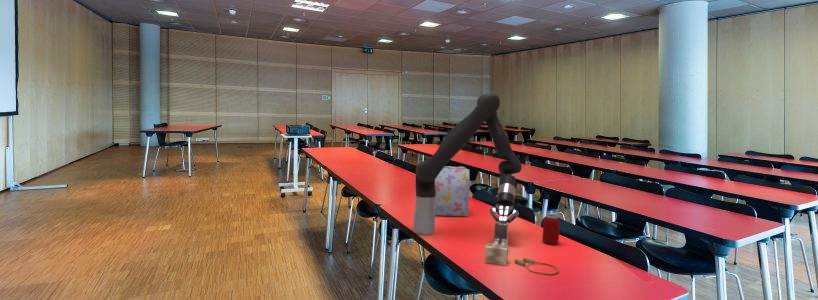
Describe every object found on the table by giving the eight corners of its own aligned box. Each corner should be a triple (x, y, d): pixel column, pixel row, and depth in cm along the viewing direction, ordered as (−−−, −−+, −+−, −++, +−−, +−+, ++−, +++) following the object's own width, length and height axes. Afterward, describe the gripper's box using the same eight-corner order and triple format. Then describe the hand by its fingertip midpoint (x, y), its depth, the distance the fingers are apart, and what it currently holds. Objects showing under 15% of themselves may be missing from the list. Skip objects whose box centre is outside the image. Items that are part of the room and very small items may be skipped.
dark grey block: (489, 259, 165) (490, 233, 164) (494, 245, 182) (495, 221, 181) (502, 261, 164) (504, 234, 163) (506, 247, 181) (508, 223, 180)
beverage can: (559, 242, 192) (560, 215, 191) (557, 246, 186) (559, 219, 185) (543, 239, 195) (545, 213, 194) (541, 244, 189) (542, 217, 188)
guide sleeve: (492, 253, 175) (493, 243, 174) (497, 242, 190) (497, 233, 189) (504, 254, 173) (504, 245, 173) (507, 243, 188) (508, 234, 188)
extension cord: (538, 260, 170) (538, 255, 170) (565, 275, 155) (566, 269, 155) (512, 263, 166) (512, 258, 166) (537, 278, 151) (537, 273, 151)
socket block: (484, 262, 164) (485, 247, 163) (486, 257, 169) (487, 242, 169) (506, 265, 161) (506, 249, 161) (507, 260, 167) (508, 245, 166)
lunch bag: (464, 210, 248) (466, 164, 246) (470, 217, 231) (472, 168, 229) (425, 209, 247) (427, 163, 244) (428, 217, 230) (430, 167, 228)
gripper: (490, 189, 192) (485, 223, 181) (521, 192, 188) (517, 227, 177) (491, 199, 197) (486, 232, 187) (521, 202, 193) (517, 236, 183)
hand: (501, 229), depth 182 cm, fingers closed
